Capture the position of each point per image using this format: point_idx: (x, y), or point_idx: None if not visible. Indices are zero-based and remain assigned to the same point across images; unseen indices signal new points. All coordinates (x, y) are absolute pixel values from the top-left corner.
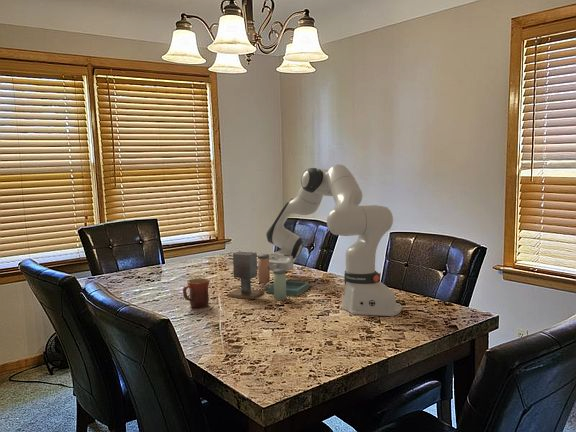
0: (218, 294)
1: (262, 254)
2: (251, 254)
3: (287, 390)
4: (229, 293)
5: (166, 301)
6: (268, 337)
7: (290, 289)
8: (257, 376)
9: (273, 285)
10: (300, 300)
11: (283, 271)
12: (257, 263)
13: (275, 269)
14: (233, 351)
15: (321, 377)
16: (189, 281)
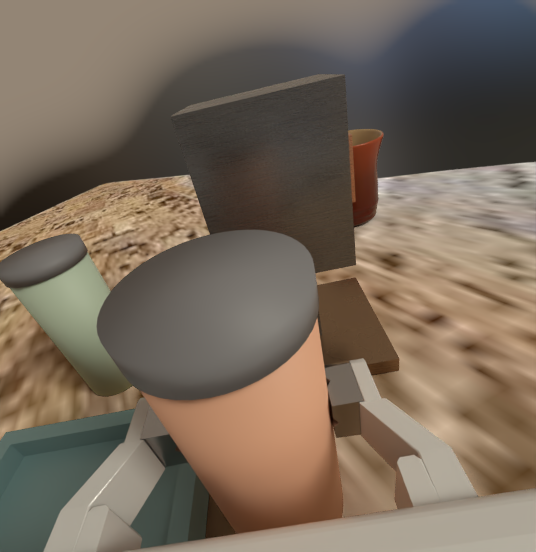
0: (426, 286)
1: (252, 303)
2: (187, 107)
3: (86, 193)
4: (355, 283)
5: (478, 193)
6: (117, 221)
7: (45, 436)
8: (116, 190)
9: (179, 469)
10: (22, 395)
11: (17, 253)
12: (410, 434)
13: (64, 250)
14: (156, 193)
15: (50, 210)
16: (374, 134)
